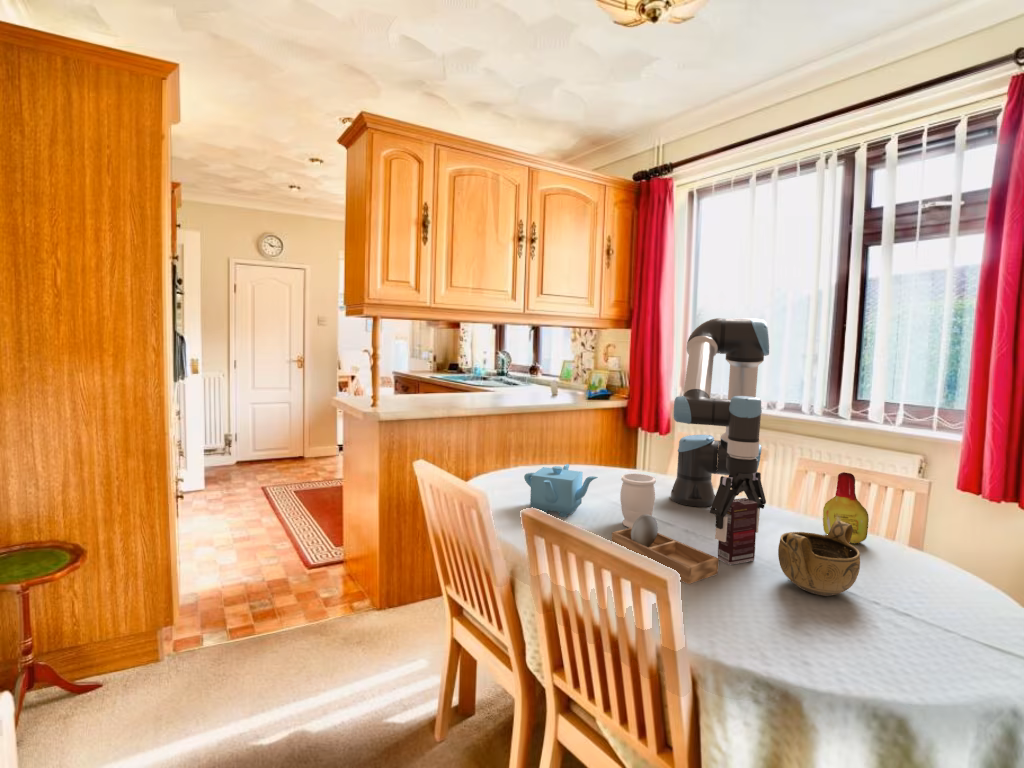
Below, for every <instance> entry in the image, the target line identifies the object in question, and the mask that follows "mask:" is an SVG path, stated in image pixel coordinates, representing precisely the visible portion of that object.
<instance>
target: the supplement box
mask: <svg viewBox="0 0 1024 768" xmlns="http://www.w3.org/2000/svg"><path fill="white" fill-rule="evenodd" d="M722 511H723V510H722ZM725 516H727V517H728V518H727V534H726V542H722V541H720V540H717V541H718V542H717V544H718V545H717V558H719V560H720V561H722V562H723V563H725V564H727V565H729V566H731V565H738V564H742V563H743V564H744V563H747V562H748V563H749V562H753V561H755V557H756V555H755V554H756V553H755V552H756V538H757V536H756V535H757V533H756V519H757V502H755V501H752V500H749V499H748V498H747V497H742V498H735V499H734V500H733V502H732V504H731V506H730V508H729V510H728V512H727V513H726V515H725Z"/></svg>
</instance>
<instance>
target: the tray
mask: <svg viewBox="0 0 1024 768" xmlns="http://www.w3.org/2000/svg"><path fill="white" fill-rule="evenodd" d="M658 530H659V525H658V522H657V519H656V518H655V517H654V516H650V515H647V514H645V515H641V516H640V517H638V518H637V519H636V521H635V522H634V524H633V527H632V528H629V527H627V528H625V529H620V530H616V531H613V532H611V542H612V541H613V542H615V543H617V544H619V545H621V546H624V547H626V548H627V549H629V550H632V551H634V552H636V553H639V554H641V555H644V556H647V557H648V558H651V559H653V560H655V561H657V562H659V563H661V564H663V565H665V566H667V567H670V568H672V569H674V570H676V571H677V572H678V573H679V574H680V577H681V580H680V581H681V582H683V583H685V584H687V585H691V584H693V583H696V582H698V581H702V580H704V579H707V578H711V577H714V576H717V575H719V562H720V561H719V558H718V557H716V556H714V555H711V554H709V553H707V552H704V551H701V550H700V549H697V548H695V547H692V546H690V545H688V544H686V543H684V542H683V543H682V542H681V541H679V540H676V539H674V538H671V537H670V536H666V535H664V534H661V533H659V532H658Z"/></svg>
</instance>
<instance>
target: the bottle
mask: <svg viewBox="0 0 1024 768" xmlns="http://www.w3.org/2000/svg"><path fill="white" fill-rule="evenodd" d="M822 511H823V512H822V515H823V516H822V517H823V518H822V527H823V531H824V534H825V535H827V534H829V532H830V529H831V527H832V525H833V524H834V522H835V521H837V520H838V521H842V522H845V523H848V524H850V525H852V527H853V532H852V536H851V540H850V544H853V543H858V544H860V543H862V542H864V541H866V539H867V537H868V532H869V531H868V529H869V519H870V518H869V513H868V511H867V509H866V508H865V506H863V505H862V503H861V502H860V501H859V500H858V498H857V494H856V477H855V476H854V474H853V473H851V472H850V473H849V472H845V471H844V472H841V473H839V474H838V475H837V484H836V491H835V496H834V497H832V498H830V499H829V500H828V501H826V502H825V503H824V506H823V509H822Z"/></svg>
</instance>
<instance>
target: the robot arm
mask: <svg viewBox="0 0 1024 768" xmlns="http://www.w3.org/2000/svg"><path fill="white" fill-rule="evenodd" d="M768 328H769V327H768V323H767V321H765V320H764V319H760V318H720V317H718V318H712V319H709V320H707V321H705V322H702V323H701V324H700V325H698V326H697V327H696V328H695V329H694V330H693V331H692V333H691V334H690V335H689V336H688V339H687V341H686V352H687V355H688V358H687V366H686V372H685V380H684V386H683V394H682V395H681V396H679V395H678V396H675V398H674V403H673V419H674V421H675V422H677V423H680V424H688V425H702V426H703V425H705V426H715V427H725V432H724V433H722V434H721V435H720V440H716V439H715V437H714V436H713V435H711V434H691V435H690V434H689V435H685V436H683V437H681V438H680V439H679V441H678V448H677V452H678V453H677V455H678V456H677V469H676V478H675V481H674V484H673V486H672V489H671V491H670V499H671V501H673V502H675V503H677V504H679V505H683V506H689V507H700V508H702V507H705V508H706V507H710V510H709V513H710V514H713V515H715V523H714V526H715V534H714V539H715V540H717V541H719V540H720V541H722V542H726V534H727V518H728V517H727V516H725V515H726V513H727V512H728V510H729V508H730V506H731V504H732V502H733V500H734V499H736V496H739V495H740V493H743V492H744V494H745V496H746V498H747V499H749V500H752V501H755V502H757V519H756V534H758V533H759V526H760V525H759V524H760V514H761V511H760V510H761V509H762V510H763V509H764V508H765V505H766V504H767V500H766V496H765V493H764V492H765V491H764V487H763V484H762V480H761V479H762V477H761V472H759V471H758V469H759V466H760V461H761V456H762V445H761V444H760V432H761V431H760V430H761V420H762V419H761V417H762V413H763V411H762V409H763V408H762V399H760V398H759V397H756V396H757V384H758V371H759V366H760V365H761V364H762V363H763V362H764V358H765V357H767V356H769V355H770V337H769V329H768ZM717 354H721V355H725V361H726V362H727V363H728V364H729V375H728V376H729V377H728V391H727V392H728V393H727V399H723V398H713V397H712V398H711V394H712V393H711V391H712V383H713V382H712V381H713V369H714V368H713V367H714V358H715V356H716V355H717ZM713 475H721V476H720V479H719V485H718V487H717V491H716V493H715V491H714V490H715V489H714V487H713V486H714V485H713V482H712V476H713ZM727 476H728V477H727ZM722 510H723V511H722Z"/></svg>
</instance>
